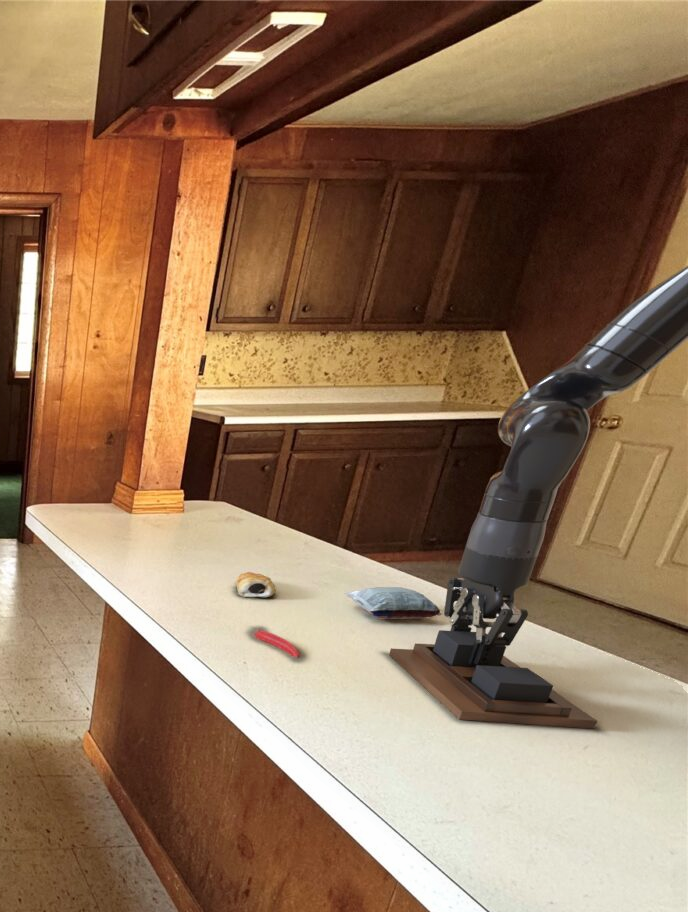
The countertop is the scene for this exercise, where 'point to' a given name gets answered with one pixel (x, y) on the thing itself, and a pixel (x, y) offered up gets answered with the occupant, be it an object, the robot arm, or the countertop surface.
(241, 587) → the pastry
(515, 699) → the dark grey block
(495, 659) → the dark gray block
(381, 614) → the packaged food
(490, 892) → the countertop surface
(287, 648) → the cayenne pepper
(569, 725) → the brown base tray
